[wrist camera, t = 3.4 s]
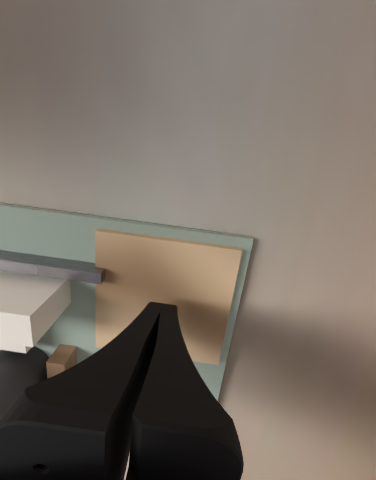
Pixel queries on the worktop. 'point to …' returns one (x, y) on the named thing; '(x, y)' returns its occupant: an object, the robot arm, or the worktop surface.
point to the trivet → (166, 286)
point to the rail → (51, 267)
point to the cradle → (61, 359)
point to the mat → (83, 249)
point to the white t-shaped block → (29, 308)
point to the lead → (20, 373)
